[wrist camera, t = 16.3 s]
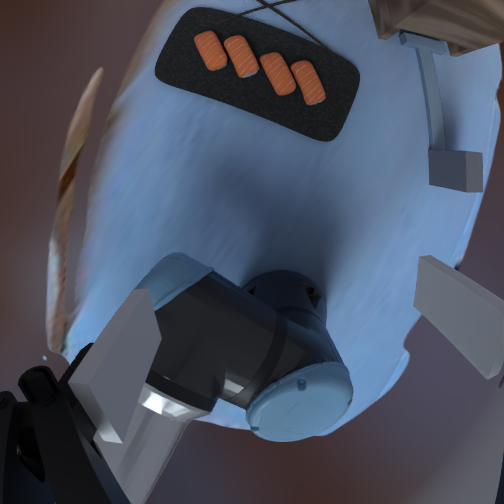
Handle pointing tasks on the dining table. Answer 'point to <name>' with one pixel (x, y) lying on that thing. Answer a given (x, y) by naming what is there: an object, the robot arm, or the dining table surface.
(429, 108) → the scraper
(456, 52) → the cabinet
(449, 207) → the dining table surface
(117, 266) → the dining table surface
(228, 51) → the sushi plate
